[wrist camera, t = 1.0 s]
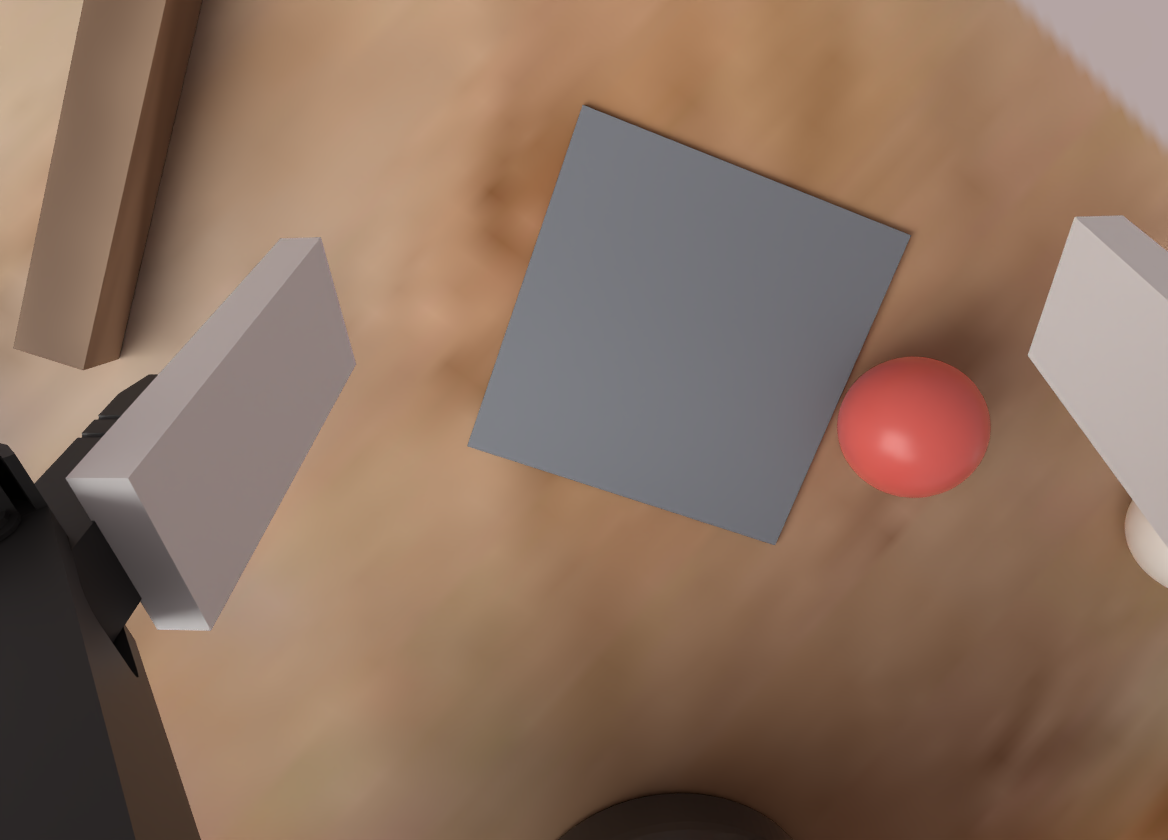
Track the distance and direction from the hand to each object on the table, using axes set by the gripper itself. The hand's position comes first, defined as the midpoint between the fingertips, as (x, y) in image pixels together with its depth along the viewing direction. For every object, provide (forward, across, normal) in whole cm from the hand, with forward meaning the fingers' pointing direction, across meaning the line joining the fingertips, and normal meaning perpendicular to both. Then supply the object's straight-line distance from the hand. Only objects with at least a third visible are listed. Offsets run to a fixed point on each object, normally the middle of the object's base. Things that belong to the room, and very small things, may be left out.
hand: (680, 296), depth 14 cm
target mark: (+15, -1, +10) cm, 18 cm away
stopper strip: (+15, +19, +1) cm, 24 cm away
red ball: (+12, -10, +12) cm, 20 cm away
